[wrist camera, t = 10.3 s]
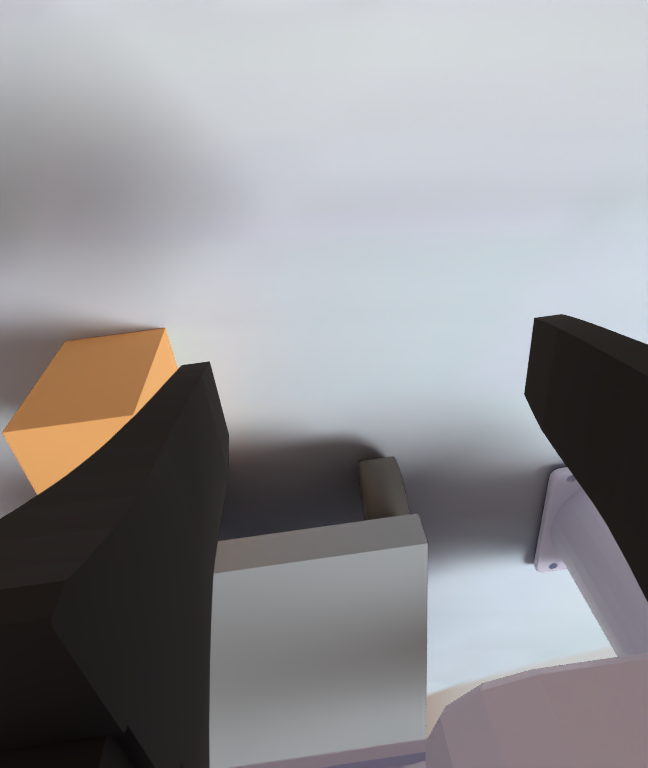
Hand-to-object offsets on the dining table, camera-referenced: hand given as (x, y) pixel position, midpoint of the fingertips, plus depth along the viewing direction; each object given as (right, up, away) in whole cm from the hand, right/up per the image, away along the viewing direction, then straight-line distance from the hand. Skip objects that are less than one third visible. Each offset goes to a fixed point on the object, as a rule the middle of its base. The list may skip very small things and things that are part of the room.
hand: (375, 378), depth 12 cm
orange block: (-9, -1, +11) cm, 14 cm away
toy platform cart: (-3, -11, +18) cm, 22 cm away
